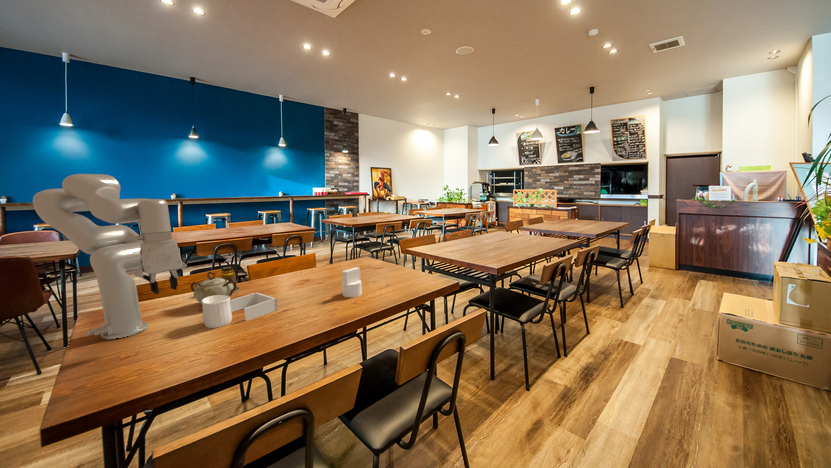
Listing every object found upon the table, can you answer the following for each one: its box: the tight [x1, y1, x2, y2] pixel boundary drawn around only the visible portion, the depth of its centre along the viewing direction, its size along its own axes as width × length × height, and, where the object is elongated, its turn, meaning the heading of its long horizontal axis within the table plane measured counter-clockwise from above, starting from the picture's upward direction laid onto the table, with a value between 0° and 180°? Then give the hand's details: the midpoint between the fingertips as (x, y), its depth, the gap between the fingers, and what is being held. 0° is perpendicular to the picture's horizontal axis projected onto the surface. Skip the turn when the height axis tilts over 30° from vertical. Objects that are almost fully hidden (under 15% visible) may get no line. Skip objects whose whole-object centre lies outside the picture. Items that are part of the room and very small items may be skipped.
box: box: [230, 292, 278, 322], centre depth 134 cm, size 13×15×5 cm
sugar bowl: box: [190, 271, 237, 305], centre depth 142 cm, size 20×15×15 cm
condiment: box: [220, 266, 240, 293], centre depth 161 cm, size 7×8×12 cm
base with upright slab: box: [341, 267, 363, 298], centre depth 153 cm, size 9×9×12 cm
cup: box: [201, 295, 233, 329], centre depth 122 cm, size 10×10×10 cm
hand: (165, 290), depth 108 cm, fingers open, 4 cm apart
